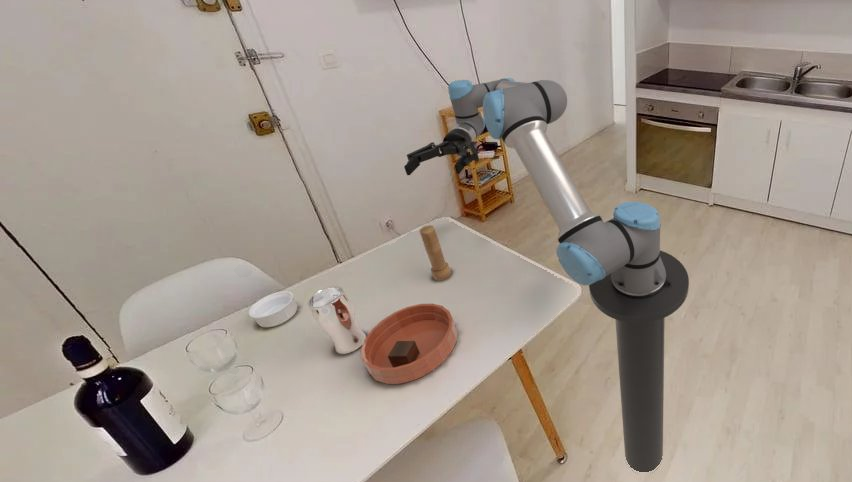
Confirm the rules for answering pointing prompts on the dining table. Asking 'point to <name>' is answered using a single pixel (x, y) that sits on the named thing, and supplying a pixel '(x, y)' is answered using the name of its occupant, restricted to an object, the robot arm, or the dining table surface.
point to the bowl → (410, 324)
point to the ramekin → (274, 309)
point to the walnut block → (403, 353)
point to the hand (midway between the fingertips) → (431, 170)
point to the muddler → (435, 253)
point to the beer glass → (337, 318)
